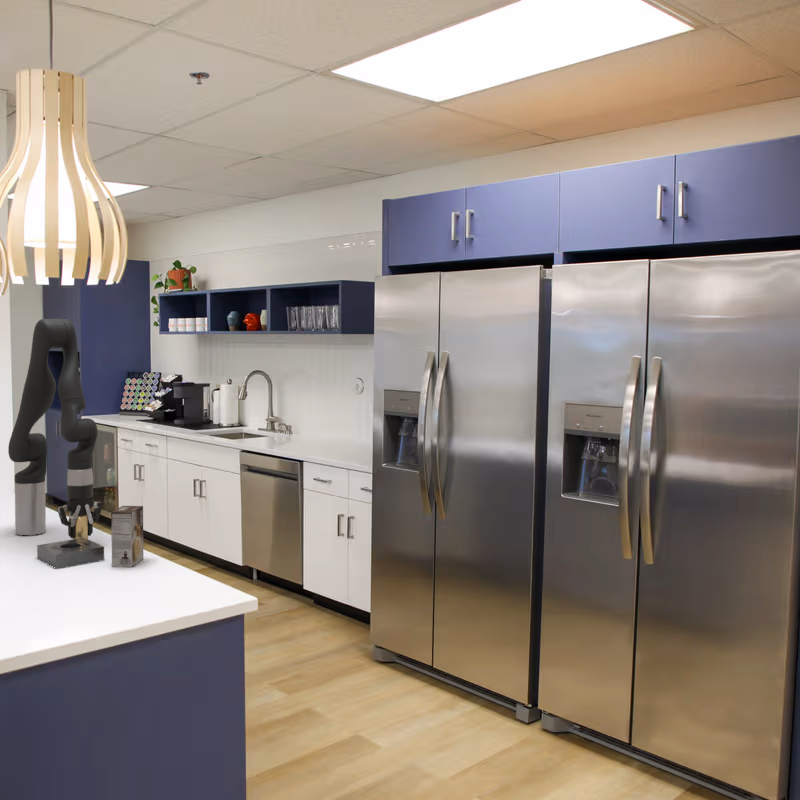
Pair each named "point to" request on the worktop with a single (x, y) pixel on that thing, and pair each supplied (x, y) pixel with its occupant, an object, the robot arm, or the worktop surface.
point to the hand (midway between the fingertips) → (80, 536)
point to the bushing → (81, 527)
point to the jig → (70, 552)
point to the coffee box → (127, 535)
